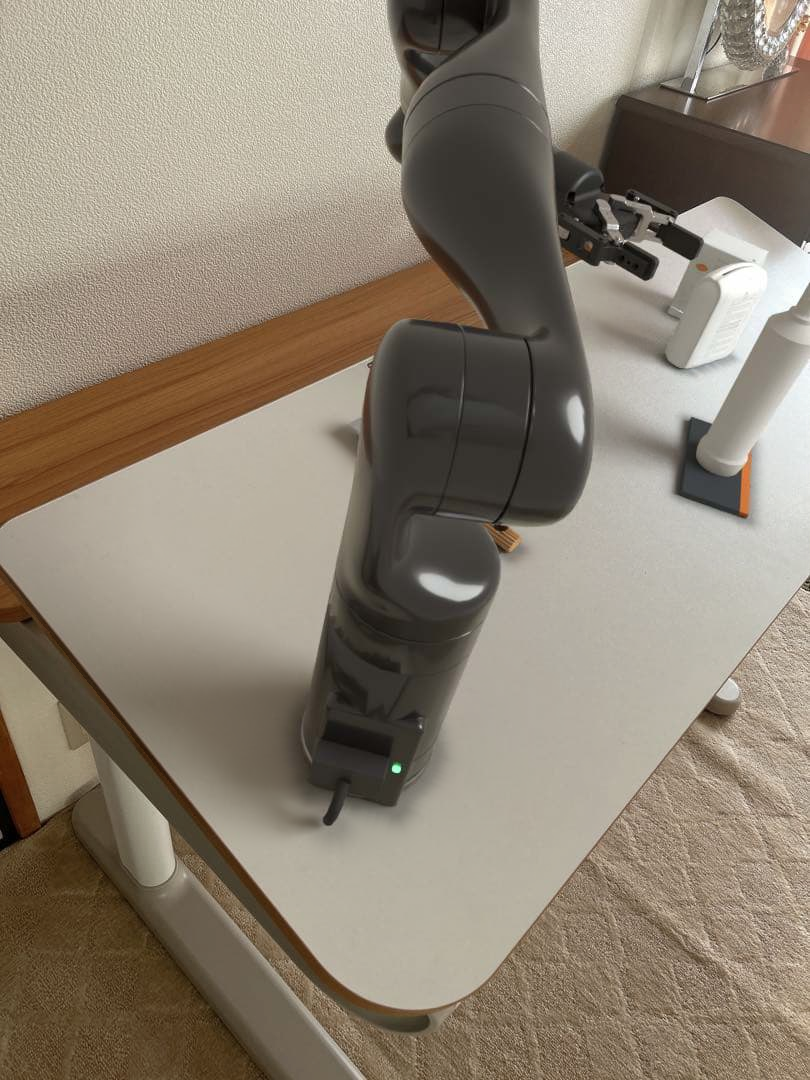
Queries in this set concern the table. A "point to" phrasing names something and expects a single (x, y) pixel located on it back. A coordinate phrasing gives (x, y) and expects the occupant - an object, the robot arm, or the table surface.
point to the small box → (714, 263)
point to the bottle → (758, 389)
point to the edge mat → (713, 478)
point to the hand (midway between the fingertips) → (677, 260)
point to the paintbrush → (505, 539)
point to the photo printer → (716, 315)
